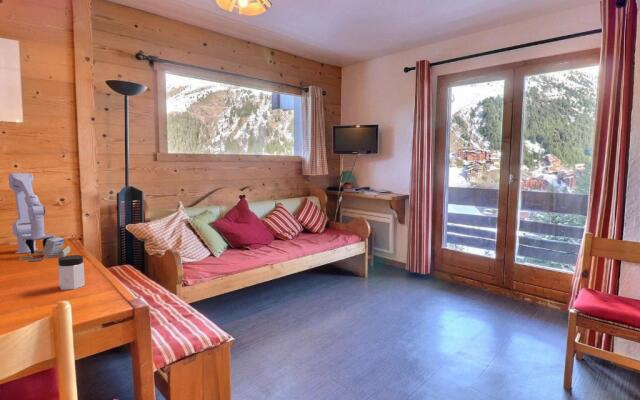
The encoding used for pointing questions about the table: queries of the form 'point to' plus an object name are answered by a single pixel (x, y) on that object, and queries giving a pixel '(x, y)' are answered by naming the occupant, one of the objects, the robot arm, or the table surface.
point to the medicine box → (53, 246)
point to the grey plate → (38, 258)
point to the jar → (71, 272)
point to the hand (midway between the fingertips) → (38, 253)
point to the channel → (64, 253)
